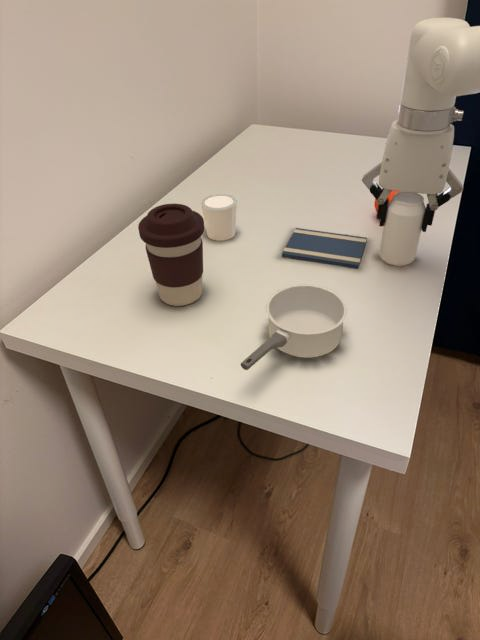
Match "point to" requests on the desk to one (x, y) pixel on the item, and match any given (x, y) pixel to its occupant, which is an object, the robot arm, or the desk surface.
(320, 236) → the towel
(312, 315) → the saucepan
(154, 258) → the coffee cup
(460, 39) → the robot arm
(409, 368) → the desk surface
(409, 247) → the beverage can
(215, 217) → the white candle
